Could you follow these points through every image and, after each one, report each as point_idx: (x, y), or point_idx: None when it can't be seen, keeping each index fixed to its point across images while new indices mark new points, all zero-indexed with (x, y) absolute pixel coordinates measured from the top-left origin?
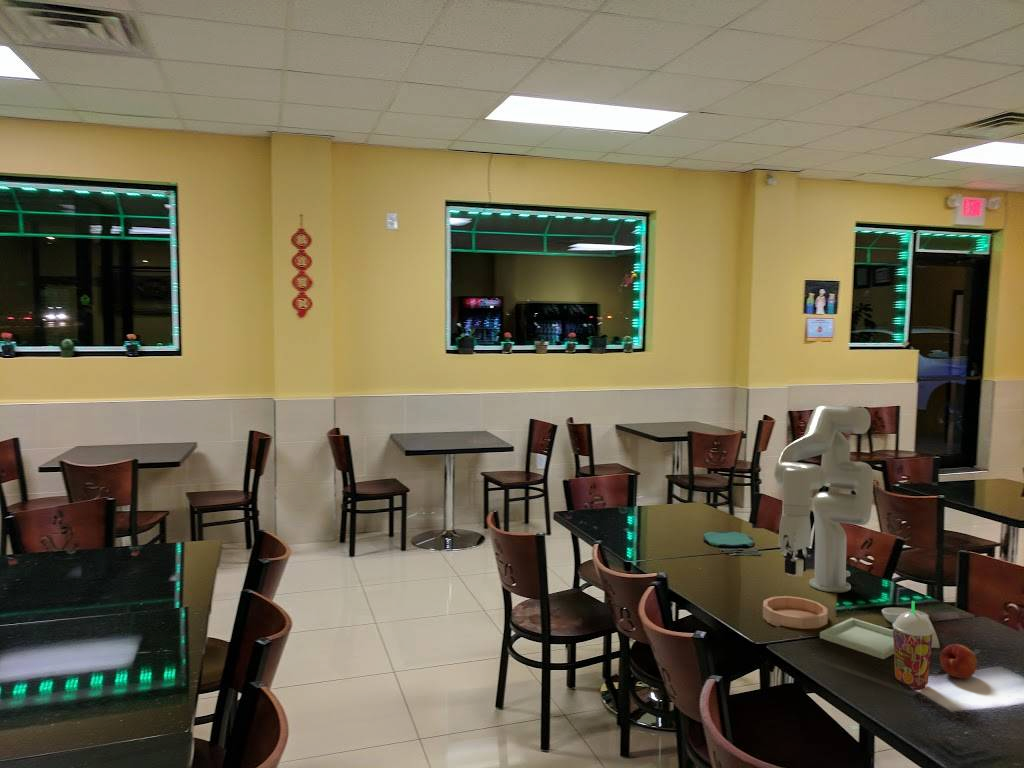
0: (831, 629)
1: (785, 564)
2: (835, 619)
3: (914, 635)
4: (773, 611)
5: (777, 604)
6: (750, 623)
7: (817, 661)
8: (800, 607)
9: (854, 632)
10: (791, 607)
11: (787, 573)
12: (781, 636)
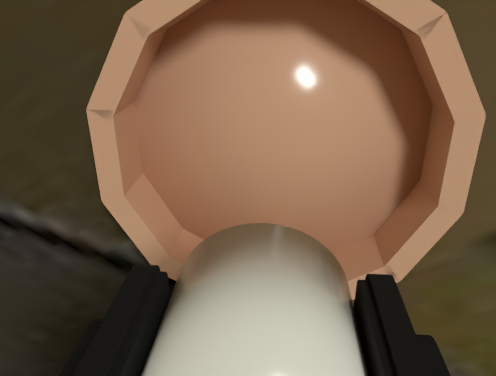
0: None
1: (97, 342)
2: (443, 251)
3: None
4: (97, 123)
5: None
6: (40, 6)
7: (4, 364)
8: (432, 97)
9: None
10: (410, 48)
11: (189, 256)
12: (55, 197)
